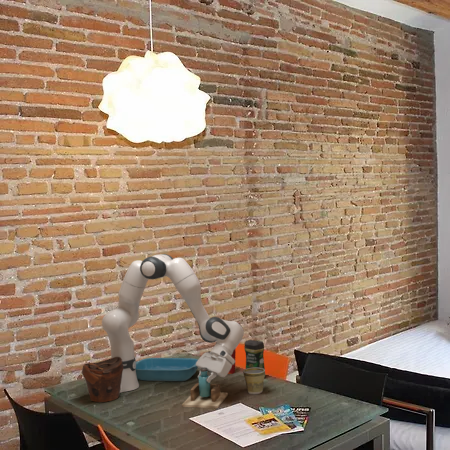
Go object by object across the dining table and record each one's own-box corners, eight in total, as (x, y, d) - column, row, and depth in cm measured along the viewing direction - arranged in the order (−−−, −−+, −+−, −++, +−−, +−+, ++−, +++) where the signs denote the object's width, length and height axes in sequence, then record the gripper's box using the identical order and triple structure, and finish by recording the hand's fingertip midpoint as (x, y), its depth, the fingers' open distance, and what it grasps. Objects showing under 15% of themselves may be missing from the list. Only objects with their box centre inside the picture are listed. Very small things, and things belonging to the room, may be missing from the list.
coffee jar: (242, 378, 304) (241, 341, 303) (252, 374, 310) (250, 337, 310) (259, 381, 298) (257, 343, 297) (268, 376, 304) (266, 339, 304)
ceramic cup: (257, 396, 275) (256, 374, 274) (239, 393, 281) (238, 371, 280) (273, 388, 285) (272, 367, 285) (255, 385, 291) (254, 364, 291)
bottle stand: (181, 406, 266) (181, 393, 266) (194, 393, 283) (193, 380, 283) (217, 408, 262) (216, 394, 262) (227, 394, 279) (227, 381, 279)
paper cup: (237, 370, 319) (236, 343, 318) (236, 374, 311) (235, 347, 310) (222, 370, 319) (221, 343, 319) (221, 374, 312) (219, 347, 311)
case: (74, 402, 278) (72, 363, 277) (102, 389, 296) (101, 352, 295) (105, 407, 270) (103, 367, 269) (132, 394, 287) (131, 356, 287)
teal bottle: (198, 396, 271) (196, 369, 270) (201, 393, 276) (200, 366, 275) (208, 397, 270) (207, 370, 269) (212, 393, 274) (210, 367, 274)
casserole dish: (123, 382, 308) (122, 368, 307) (140, 369, 329) (140, 356, 329) (193, 384, 298) (193, 369, 298) (206, 371, 320) (206, 357, 320)
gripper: (203, 346, 284) (186, 371, 279) (229, 354, 268) (211, 381, 262) (211, 354, 287) (195, 379, 282) (237, 362, 270) (220, 389, 265)
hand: (203, 380), depth 272 cm, fingers closed on teal bottle, 5 cm apart
